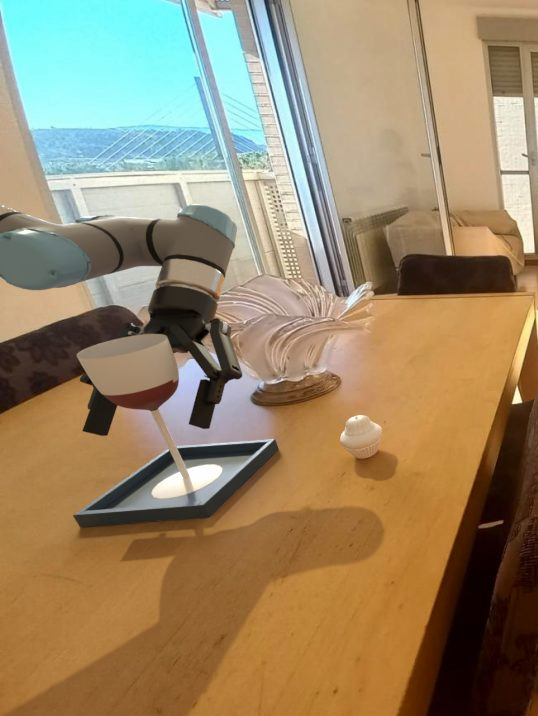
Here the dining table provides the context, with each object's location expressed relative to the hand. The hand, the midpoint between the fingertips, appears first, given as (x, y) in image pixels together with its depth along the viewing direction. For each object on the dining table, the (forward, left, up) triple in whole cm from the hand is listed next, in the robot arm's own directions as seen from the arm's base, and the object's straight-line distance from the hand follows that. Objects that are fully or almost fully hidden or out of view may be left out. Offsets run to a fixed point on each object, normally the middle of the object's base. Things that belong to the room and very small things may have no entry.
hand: (147, 430), depth 65 cm
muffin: (+24, +7, -11) cm, 28 cm away
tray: (0, +2, -11) cm, 11 cm away
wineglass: (0, +2, -10) cm, 11 cm away
